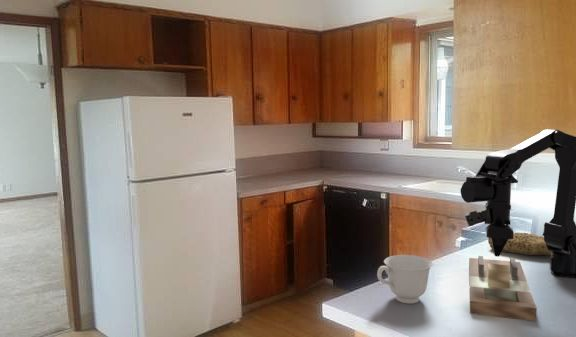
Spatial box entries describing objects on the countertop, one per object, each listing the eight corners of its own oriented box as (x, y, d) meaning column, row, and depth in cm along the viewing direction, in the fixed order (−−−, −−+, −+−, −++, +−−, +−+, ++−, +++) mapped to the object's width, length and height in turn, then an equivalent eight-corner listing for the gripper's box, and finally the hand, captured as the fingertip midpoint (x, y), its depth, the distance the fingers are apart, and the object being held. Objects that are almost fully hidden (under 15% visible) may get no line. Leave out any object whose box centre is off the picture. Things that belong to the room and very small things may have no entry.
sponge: (486, 254, 161) (546, 255, 145) (484, 231, 162) (544, 230, 147) (506, 254, 169) (565, 255, 153) (504, 232, 170) (563, 231, 155)
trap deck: (519, 271, 139) (520, 250, 139) (536, 321, 107) (537, 293, 106) (469, 267, 144) (469, 246, 144) (470, 312, 112) (470, 286, 111)
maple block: (507, 281, 123) (508, 265, 123) (509, 288, 119) (510, 271, 118) (487, 279, 125) (487, 263, 124) (488, 286, 120) (488, 269, 120)
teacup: (365, 296, 123) (365, 259, 122) (412, 287, 128) (412, 252, 127) (391, 314, 112) (392, 273, 111) (442, 303, 117) (443, 265, 116)
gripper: (466, 193, 138) (465, 244, 140) (466, 204, 121) (465, 263, 123) (508, 194, 135) (506, 247, 136) (514, 207, 117) (512, 267, 119)
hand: (496, 256), depth 129 cm, fingers closed
